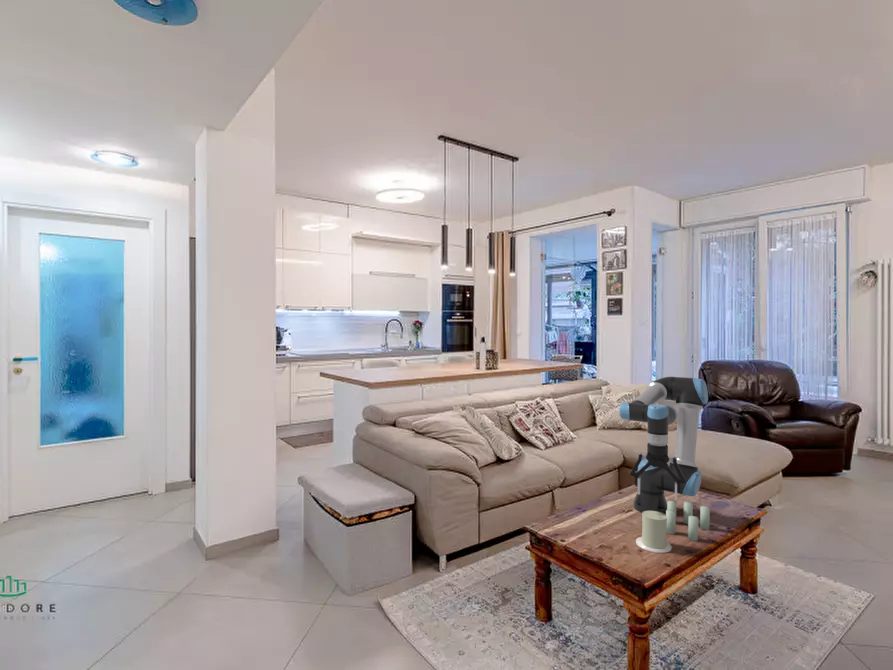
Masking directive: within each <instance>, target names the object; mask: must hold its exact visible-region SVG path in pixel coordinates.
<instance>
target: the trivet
mask: <svg viewBox="0 0 893 670" xmlns="http://www.w3.org/2000/svg"><path fill="white" fill-rule="evenodd" d="M635 544H636V546H638V547H639V548H640V549H643V550H644V551H647V552H650V553H656V554H667V553H669V552H671V551H672V549H673V547H672V545H671V543H669V541H667V540H666V544H667V547H666V548H664V549H654V548H650V547H647V546H645V545H644V544H643V543H642V536H639V537H637V538H636V539H635Z"/></svg>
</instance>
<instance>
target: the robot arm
mask: <svg viewBox="0 0 893 670" xmlns="http://www.w3.org/2000/svg"><path fill="white" fill-rule="evenodd" d="M708 400H709V390H708V386H707V384H706V381H705V380H704V379H702V378H695V377H685V376H684V377H682V376H681V377H679V376H678V377H677V376H665V377H661V378H658V379H656V380H654V381H652V382H651V383H649V384H648V385H647V386H646V389H645V390H644V391H643V392H642V393H641V394H640V395H638V396H637V397H636V398H635V399H634V400H632V401H631V402H629V401H627V402H624V401H623V402H622V403H620V405H619V408H618V413H619V417H620V418H621V419H622V420H626V421H631V422H632V421H633V422H639V423H640V422H641V423H647V439H646V440H647V442H648V443H647V447H646V448H647V449H646V451H647V452H646V454H644V453H643V452H640V453H639V454H638V459H637V460H636V462H635V464H634V465H633V466H632V468H631V471H630V473H629V475H630V476H631V477H634V485H635V486H637V492H636V494H635V497H634V499H633V509H635V510H636V511H639V512H641V513H643V512H644V511H657V512H660V513H663V514H665V515H666V510H667V500H666V496H665V492H670V493H674V501H677V500H678V495H682V496H689V497H694V496H696V495H697V494H698V493H699V490H700V487H701V484H702V479H703V477H702V472H701V471H700V470H699V467H698V465H697V463H695V461H696V460H695V459H696V451H697V439H698V438H697V437H698V426H699V414H700V411H701V410H703V408H704V405H707V404H708V403H709V401H708ZM662 401H674V402H675V406H676V407H677V408H678V412H677V410H676V408H675V407H673V406H672V405H670V404H669V405H665V404H658V403H659V402H662ZM675 421H676V432H675V433H676V434H675V443H674V454H673V457H669V446H668V444H669V425H671V424H674V422H675ZM668 463H669V464H668ZM636 471H637V472H636Z"/></svg>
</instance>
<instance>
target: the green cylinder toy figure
mask: <svg viewBox="0 0 893 670" xmlns="http://www.w3.org/2000/svg"><path fill="white" fill-rule="evenodd" d="M641 515H642V516H641V518H642V520H641V521H642V522H641V523H642V524H641V525H642V527H641V529H642V530H641V537H642V543H643V544H644V545H645V546H647V547H650V548H654V549H664V548H666V547H667V544H666V541H667V533H666V532H667V516H666V514H663V513H660V512H657V511H644V512H641Z"/></svg>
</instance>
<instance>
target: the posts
mask: <svg viewBox="0 0 893 670" xmlns="http://www.w3.org/2000/svg"><path fill="white" fill-rule="evenodd" d="M666 502H667V510H666V514H665V515H666V516H667V532H666V534H667V535H675V534H676V524H677V502H676V500H666ZM693 507H694V503H693V502H691V501H683V520H682V521H683V523H684V524H685V525H688V527H687V528H688V529H687V530H688V531H687V538H688V540H689V541H691V542H698V541H699V528H700V529H702V530H705V531H709V530H710V525H711V524H710V521H711V520H710V519H711V518H710V517H711V516H710V515H711V508H710V507H709V506H706V505H701V506H700V507H699V508H700V509H699V512H700V513H699V515H700V516H699V517H700V519H699V517H698V516H696V515H693V514H694V512H693V511H694V509H693Z"/></svg>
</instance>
